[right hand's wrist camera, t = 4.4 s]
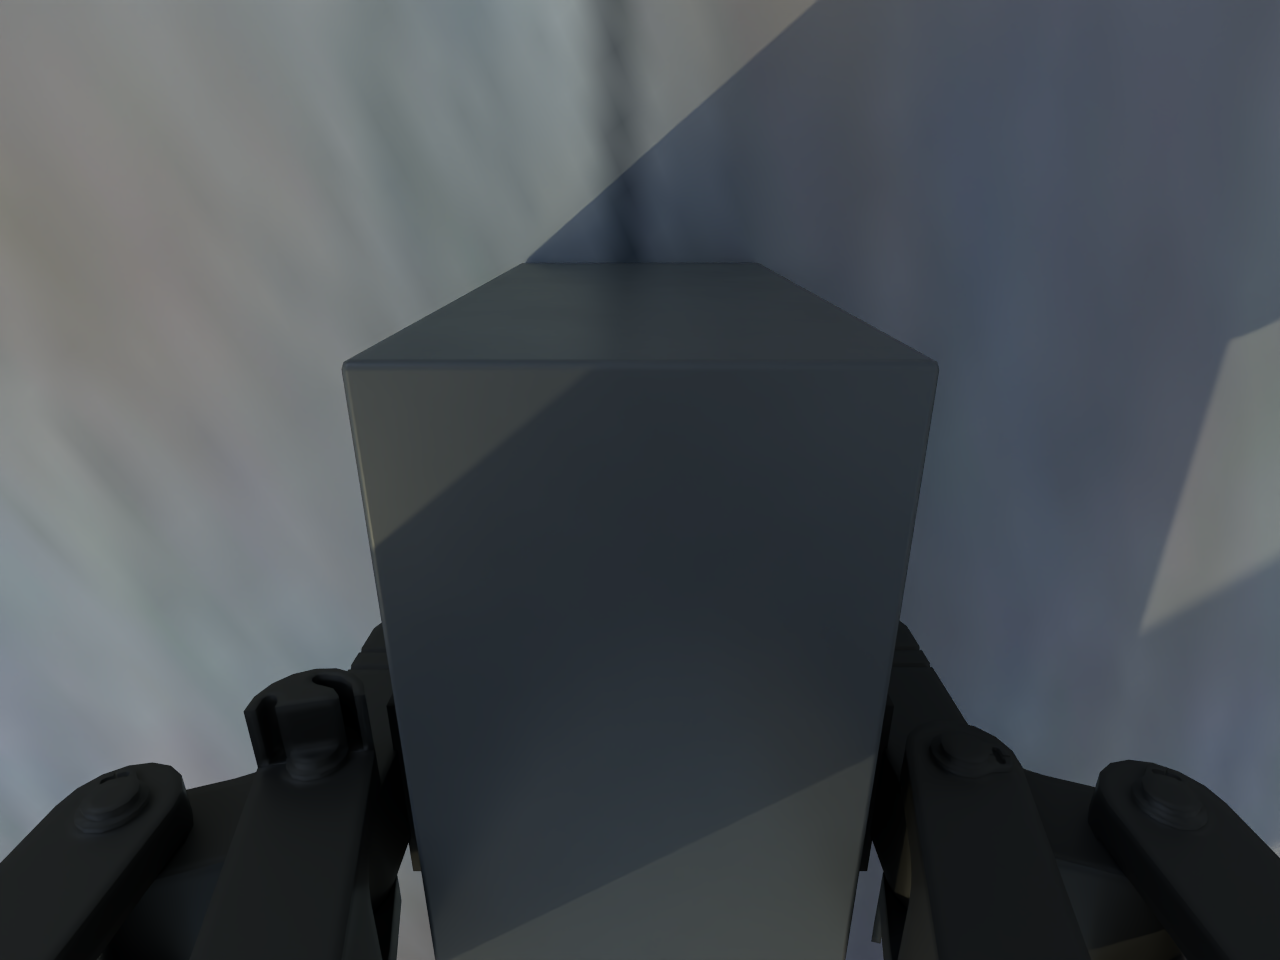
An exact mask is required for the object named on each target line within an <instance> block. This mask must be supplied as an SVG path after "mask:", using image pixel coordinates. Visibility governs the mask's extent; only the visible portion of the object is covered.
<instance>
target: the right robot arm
mask: <svg viewBox="0 0 1280 960" xmlns="http://www.w3.org/2000/svg"><path fill="white" fill-rule="evenodd" d="M244 715H245V719H246V723H247V727H248V731H249V734H250V738H251V742H252V746H253V750H254V754H255V758H256V762H257V765H258V769H257V772H255V773H252V774H249V775H245V776H242V777H239V778H235V779H231V780H227V781H222V782H218V783H214V784H210V785H205V786H201V787H197V788H192V789H188V790H186V788H185V785H184V782H183V779H182V775H181V774H180V773H178V772H177V771H176V770H175V769H174V768H173V767H172V766H169V765H163V764H158V763H146V764H138V765H130V766H126V767H123V768H121V769H118V770H115V771H112V772H109V773H106V774H103V775H101V776H99V777H97V778H96V779H94V780H92V781H90V782H88V783H86V784H85V785H83V786H81V787H79V788H77V789H76V790H75V791H74V792H72V793H71V794H70V795H69V796H67V797H66V798H65V799H64V800H63V801H61V802H60V803H59V804H58V805H56V806H55V807H54V808H53V809H52V810H51V811H50V813H49V814H48V815H47V816H46V817H45V818H44V819H43V820H42V821H41V822H40V823H39V824H38V825H37V826H36V827H35V828H34V829H33V830H32V831H31V832H30V833H29V834H28V835H27V836H26V837H25V838H24V839H23V840H22V841H21V842H20V843H19V844H18V845H17V846H16V847H15V849H14V850H13V851H12V852H11V853H10V854H9V855H8V856H7V857H6V858H5V859H4V860H3V861H2V862H1V863H0V960H396V958H397V946H398V935H399V923H400V911H401V895H400V888H399V882H398V877H397V873H398V870H399V868H400V865H401V862H402V859H403V856H404V854H405V851H406V848H407V845H408V843H409V847H410V853H411V859H412V865H413V871H421V866H420V860H419V854H418V847H417V841H416V835H415V828H414V822H413V816H412V809H411V803H410V797H409V790H408V784H407V778H406V772H405V765H404V759H403V753H402V746H401V740H400V734H399V727H398V721H397V715H396V709H395V702H394V696H393V690H392V683H391V677H390V671H389V664H388V658H387V652H386V646H385V639H384V633H383V627H382V623H381V624H379V625H378V626H377V627H375V628H374V629H373V631H372V632H371V634H370V636H369V637H368V639H367V641H366V642H365V644H364V645H363V647H362V651H361V653H358V655H357V657H356V658H355V660H354V662H353V663H352V665H351V670H348V671H344V670H341V669H337V668H333V669H313V670H309V671H305V672H300V673H296V674H293V675H290V676H288V677H286V678H284V679H281V680H279V681H277V682H275V683H273V684H271V685H270V686H268V687H267V688H266V689H264V690H263V691H261V692H260V693H259V694H257V695H256V696H255V697H254V698H253V699H252V701H251V702H250V703H249V705H248V706H247V708H246V709H245V710H244ZM872 841H873V844H874V846H875V849H876V852H877V855H878V857H879V860H880V863H881V866H882V868H883V877H882V882H881V888H880V894H879V899H878V905H877V911H876V916H875V922H874V928H873V934H872V942H876V943H881V937H882V945H883V956H884V960H1280V858H1279V857H1278V856H1277V855H1276V854H1275V853H1274V852H1273V851H1272V850H1271V849H1270V848H1269V847H1268V846H1267V845H1266V844H1265V842H1264V841H1263V840H1262V839H1261V838H1260V837H1259V836H1258V835H1257V834H1256V833H1255V832H1254V831H1253V830H1252V829H1251V828H1250V827H1249V826H1248V825H1247V824H1246V823H1245V822H1244V821H1243V820H1242V819H1241V818H1240V817H1239V816H1238V815H1237V814H1236V813H1235V812H1234V811H1233V810H1232V809H1231V808H1230V807H1229V806H1228V805H1227V804H1226V803H1225V802H1224V801H1223V800H1222V799H1220V798H1219V797H1218V796H1217V795H1215V794H1214V793H1213V792H1212V791H1210V790H1209V789H1208V788H1207V787H1206V786H1204V785H1202V784H1201V783H1199V782H1197V781H1195V780H1193V779H1191V778H1189V777H1188V776H1186V775H1184V774H1182V773H1180V772H1178V771H1175V770H1172V769H1169V768H1166V767H1163V766H1160V765H1157V764H1154V763H1150V762H1142V761H1134V760H1125V761H1119V762H1114V763H1110V764H1109V765H1108V766H1107V767H1105V768H1104V769H1103V770H1102V771H1101V772H1100V774H1099V777H1098V780H1097V784H1096V787H1092V786H1087V785H1083V784H1079V783H1074V782H1070V781H1066V780H1062V779H1057V778H1053V777H1049V776H1044V775H1041V774H1038V773H1035V772H1031V771H1028V770H1025V769H1023V768H1022V766H1021V764H1020V762H1019V761H1018V759H1017V758H1016V756H1015V754H1014V753H1013V751H1012V750H1011V749H1009V748H1008V747H1007V746H1006V745H1005V744H1003V743H1002V742H1001V741H1000V740H999V739H997V738H996V737H995V736H993V735H991V734H989V733H987V732H985V731H983V730H981V729H979V728H977V727H975V726H971V725H968V724H967V722H966V721H965V719H964V717H963V716H962V714H961V713H960V711H959V709H958V708H957V706H956V705H955V703H954V701H953V700H952V698H951V697H950V695H949V693H948V692H947V690H946V688H945V687H944V685H943V684H942V682H941V680H940V679H939V677H938V676H937V674H936V672H935V671H934V669H933V668H932V667H930V663H929V661H928V660H927V658H926V656H925V655H924V653H923V651H922V650H919V645H918V643H917V642H916V640H915V639H914V637H913V635H912V634H911V632H910V631H909V629H908V627H907V626H906V625H904V624H903V623H902V622H900V621H899V625H898V631H897V637H896V643H895V650H894V656H893V662H892V669H891V675H890V681H889V687H888V694H887V700H886V706H885V713H884V719H883V725H882V731H881V738H880V744H879V750H878V757H877V763H876V769H875V775H874V782H873V788H872V794H871V801H870V807H869V813H868V819H867V826H866V832H865V838H864V845H863V851H862V857H861V863H860V870H859V871H867V868H868V862H869V856H870V850H871V844H872Z"/></svg>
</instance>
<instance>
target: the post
mask: <svg viewBox="0 0 1280 960" xmlns="http://www.w3.org/2000/svg"><path fill="white" fill-rule="evenodd" d="M938 373H939V367H938V363H937V362H936V361H934V360H932V359H930V358H929V357H927V356H925V355H923V354H921V353H920V352H918V351H916V350H914V349H912V348H911V347H909V346H907V345H905V344H903V343H902V342H900V341H898V340H896V339H894V338H893V337H891V336H889V335H887V334H885V333H883V332H882V331H880V330H878V329H876V328H874V327H873V326H871V325H869V324H867V323H865V322H864V321H862V320H860V319H858V318H856V317H855V316H853V315H851V314H849V313H847V312H845V311H844V310H842V309H840V308H838V307H836V306H835V305H833V304H831V303H829V302H827V301H826V300H824V299H822V298H820V297H818V296H817V295H815V294H813V293H811V292H809V291H807V290H806V289H804V288H802V287H800V286H798V285H797V284H795V283H793V282H791V281H789V280H788V279H786V278H784V277H782V276H780V275H779V274H777V273H775V272H773V271H771V270H770V269H768V268H766V267H764V266H762V265H760V264H758V263H522V264H520V265H518V266H516V267H515V268H513V269H511V270H509V271H507V272H506V273H504V274H502V275H500V276H498V277H496V278H495V279H493V280H491V281H489V282H487V283H486V284H484V285H482V286H480V287H478V288H477V289H475V290H473V291H471V292H469V293H468V294H466V295H464V296H462V297H460V298H459V299H457V300H455V301H453V302H451V303H450V304H448V305H446V306H444V307H442V308H441V309H439V310H437V311H435V312H433V313H431V314H430V315H428V316H426V317H424V318H422V319H421V320H419V321H417V322H415V323H413V324H412V325H410V326H408V327H406V328H404V329H403V330H401V331H399V332H397V333H395V334H394V335H392V336H390V337H388V338H386V339H385V340H383V341H381V342H379V343H377V344H376V345H374V346H372V347H370V348H368V349H366V350H365V351H363V352H361V353H359V354H357V355H356V356H354V357H352V358H350V359H348V360H347V361H345V362H344V363H343V366H342V375H343V381H344V387H345V394H346V400H347V406H348V412H349V419H350V425H351V431H352V438H353V444H354V450H355V457H356V463H357V469H358V475H359V482H360V488H361V494H362V501H363V507H364V513H365V520H366V526H367V532H368V538H369V545H370V551H371V557H372V564H373V570H374V576H375V583H376V589H377V595H378V601H379V608H380V614H381V620H382V627H383V633H384V639H385V646H386V652H387V658H388V664H389V671H390V677H391V683H392V690H393V696H394V702H395V709H396V715H397V721H398V727H399V734H400V740H401V746H402V753H403V759H404V765H405V772H406V778H407V784H408V790H409V797H410V803H411V809H412V816H413V822H414V828H415V835H416V841H417V847H418V854H419V860H420V866H421V872H422V879H423V885H424V891H425V898H426V904H427V910H428V917H429V923H430V929H431V935H432V942H433V948H434V954H435V960H845V958H846V952H847V945H848V939H849V933H850V926H851V920H852V914H853V907H854V901H855V895H856V889H857V882H858V876H859V870H860V863H861V857H862V851H863V845H864V838H865V832H866V826H867V819H868V813H869V807H870V801H871V794H872V788H873V782H874V775H875V769H876V763H877V757H878V750H879V744H880V738H881V731H882V725H883V719H884V713H885V706H886V700H887V694H888V687H889V681H890V675H891V669H892V662H893V656H894V650H895V643H896V637H897V631H898V625H899V618H900V612H901V606H902V599H903V593H904V587H905V581H906V574H907V568H908V562H909V555H910V549H911V543H912V537H913V530H914V524H915V518H916V511H917V505H918V499H919V493H920V486H921V480H922V474H923V467H924V461H925V455H926V449H927V442H928V436H929V430H930V423H931V417H932V411H933V405H934V398H935V392H936V386H937V379H938Z"/></svg>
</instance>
